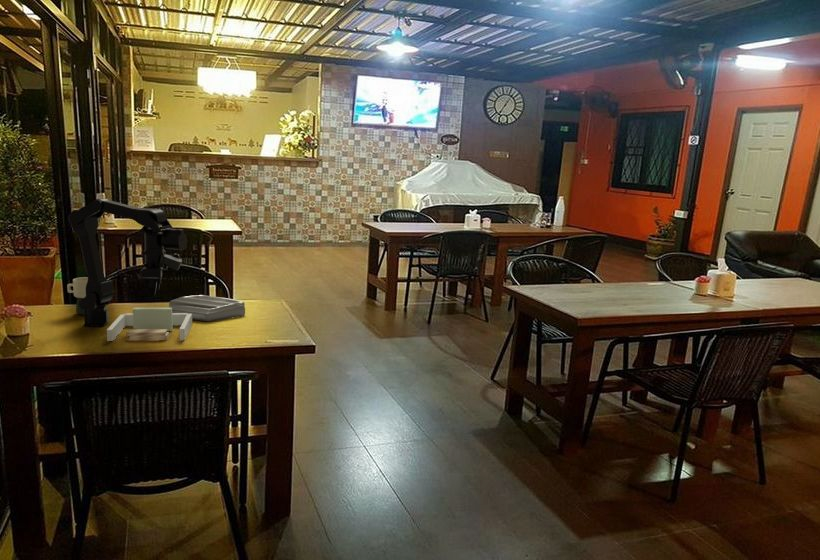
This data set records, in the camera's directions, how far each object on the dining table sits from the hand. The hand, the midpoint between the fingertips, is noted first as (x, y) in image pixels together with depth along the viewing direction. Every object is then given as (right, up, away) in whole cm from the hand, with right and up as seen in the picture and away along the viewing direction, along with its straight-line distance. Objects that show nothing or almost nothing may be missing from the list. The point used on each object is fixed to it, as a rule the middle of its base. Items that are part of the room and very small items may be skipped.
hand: (155, 293), depth 197 cm
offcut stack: (+1, -15, -7) cm, 16 cm away
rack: (-1, -13, 0) cm, 13 cm away
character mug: (-33, -8, +17) cm, 38 cm away
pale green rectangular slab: (-1, -13, +1) cm, 13 cm away
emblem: (+8, -9, +28) cm, 30 cm away
